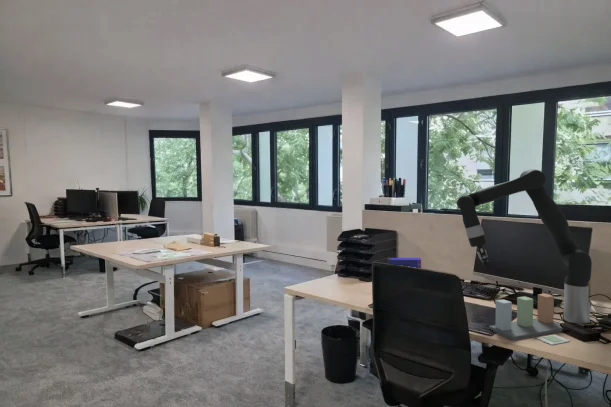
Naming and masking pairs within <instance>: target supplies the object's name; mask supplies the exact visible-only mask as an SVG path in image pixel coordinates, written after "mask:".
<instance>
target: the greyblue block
mask: <svg viewBox="0 0 611 407" xmlns="http://www.w3.org/2000/svg"><path fill="white" fill-rule="evenodd" d="M512 306H513V304H512V301H510V300H506V299H498V300H497V299H496V300H495V321H494V322H495V324H494V325H495V327H496V328H498V329H500V330H502V331H505V330H511V322H512V318H513V317H512V316H513V314H512V313H513V312H512V308H513V307H512Z"/></svg>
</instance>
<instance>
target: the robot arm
mask: <svg viewBox="0 0 611 407" xmlns="http://www.w3.org/2000/svg"><path fill="white" fill-rule="evenodd" d="M546 181H547V177H546V174H545V173H544V172H543V171H541V170H538V169H527V170H524V171H523V172H521V174H520V175H519V177H517V178H515V179H512V180H509V181H505V182H502V183H498V184H495V185H489V186H487V187H485V188H481V189H479V190H476V192H473V193H469V194H465V195H461V196H460V197H459V198H458V199H457V200H456V207H457V208H458V209H459V210H460V213H461V216H462V222H463V225H464V228H465V232H466V236H467V239H468V242H469V245H470V247H471V248H475V247H476V254H477V255H478V258H479V260H480V261H481V264H482V267H483V268H484V269H485V271H489V270H491V266H490V263H489V258H488V254H487V250H486V248H485V247H484V246H483V245H486V244H488V241H487V238H486V235H485V232H484V229H483V227H482V225H481V222H480V219H479V217H478V214H477V209H476V207H479V206H480V205H481V206H482V205H485V204H488V203H489V204H490V203H492V202H494V201H497V200H500V199H503V198H505V197H509V196H510V195H514V194H518V193H522V192H525V193H526V194H527V196H529V198H530V200H531V201H532V203H533V206H534V208H535V210H536V212H537V214H538V216H539V218H540V220H541V222H542V223H543V225H544V227H545V229H546V230H547V233H548V234H549V235H550V238H551V239H552V240H553V242H554V243H555V246H556V248H557V250H558V252H559V255H560V257H561V259H562V263H564V265H565V266H566V267H567V268H568V269H567V270H568V271H567V276H565V277H564V284H563V285H564V287H563V288H564V289H563V291H564V293H563V294H564V295H563V296H564V297H563V319H564V321H566V322H569V323H571V324H572V323H573V324H579V325H585V324H590V323H591V302H590V301H589V282H590V281H591V278H592V267H593V266H592V258H591V256H590V255H589V253H587V252H585V251H583V250H581V249H580V248H579V247H578V246H577V244H576V243H575V241H574V239H573V237H572V235H571V230H570V225H569V222H568V219H567V218H566V215H565V214H564V211H563V210H562V209H561V207H560V206H559V205H558V203H556V201H554V199H553V198H552V197H551V196H550V195H549V193H548V192H547V191H546V188H545V186H544V185H545V184H546Z"/></svg>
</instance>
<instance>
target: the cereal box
mask: <svg viewBox="0 0 611 407" xmlns="http://www.w3.org/2000/svg"><path fill="white" fill-rule="evenodd" d="M388 264H394V265H403V266H410V267H416V268H421V269H422V258H421V257H387V265H388Z"/></svg>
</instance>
